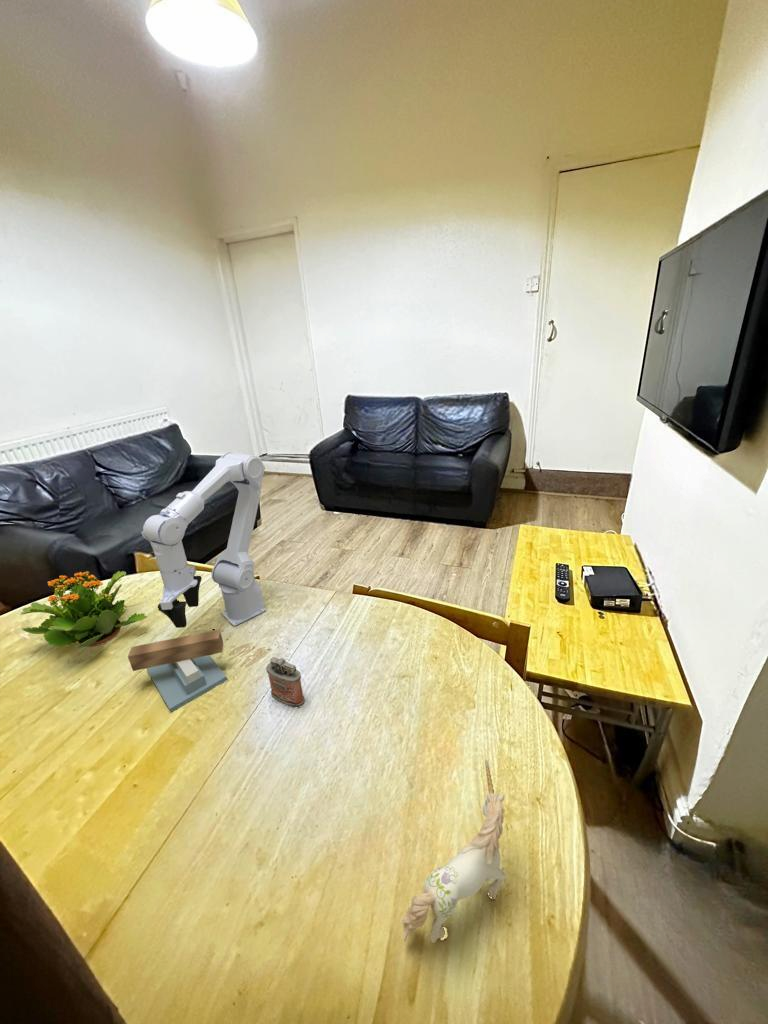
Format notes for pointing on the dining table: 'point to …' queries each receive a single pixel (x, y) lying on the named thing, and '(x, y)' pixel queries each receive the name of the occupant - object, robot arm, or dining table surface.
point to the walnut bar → (175, 650)
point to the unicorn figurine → (462, 872)
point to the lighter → (285, 682)
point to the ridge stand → (186, 680)
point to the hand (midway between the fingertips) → (187, 615)
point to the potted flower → (81, 612)
